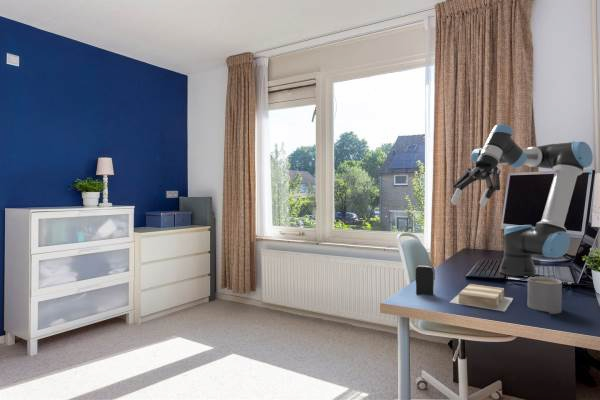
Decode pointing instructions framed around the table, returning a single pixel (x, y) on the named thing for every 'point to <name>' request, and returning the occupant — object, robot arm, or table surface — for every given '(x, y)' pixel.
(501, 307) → the grey mat
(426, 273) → the battery
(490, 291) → the board
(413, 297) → the table surface
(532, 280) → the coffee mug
